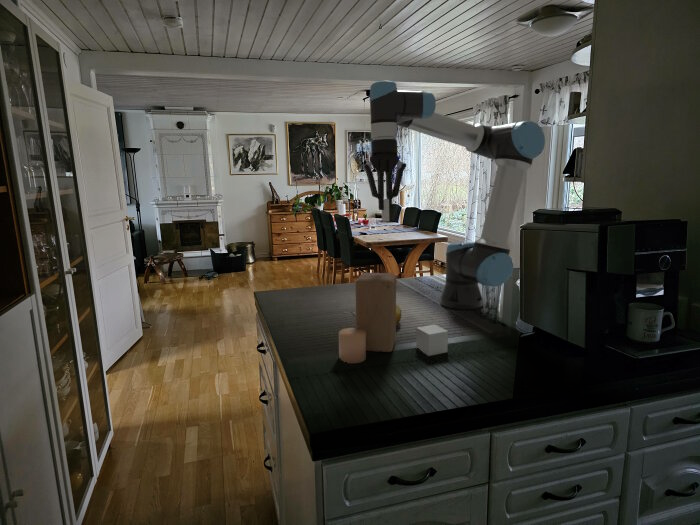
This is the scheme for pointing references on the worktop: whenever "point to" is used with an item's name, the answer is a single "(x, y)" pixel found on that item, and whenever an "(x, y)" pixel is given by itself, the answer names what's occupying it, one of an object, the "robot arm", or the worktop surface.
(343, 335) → the peach round cylinder
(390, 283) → the wooden block
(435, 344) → the grey plastic cube
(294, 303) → the worktop surface
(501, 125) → the robot arm
